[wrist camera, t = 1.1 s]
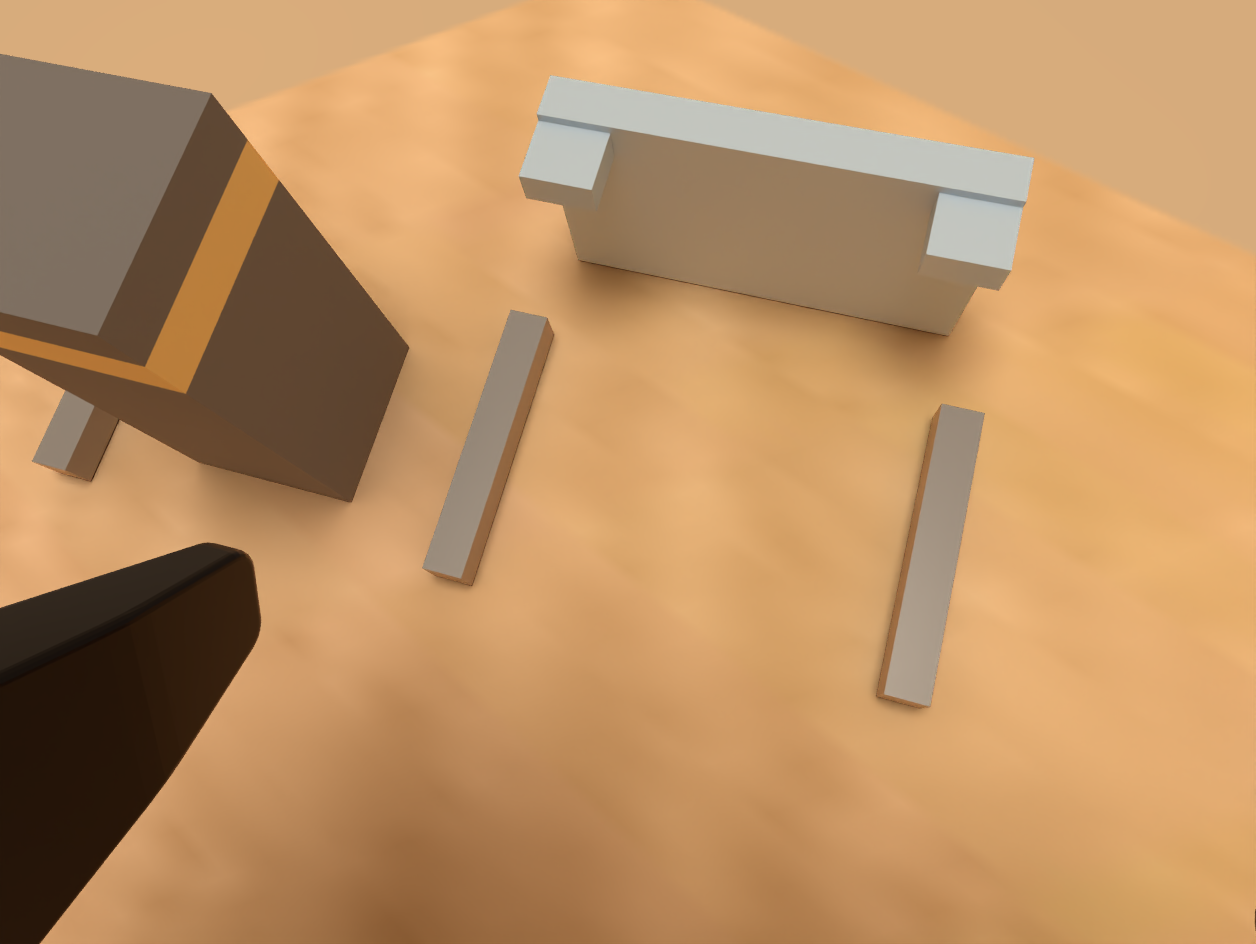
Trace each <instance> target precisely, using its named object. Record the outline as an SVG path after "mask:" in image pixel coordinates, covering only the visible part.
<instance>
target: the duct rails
mask: <svg viewBox="0 0 1256 944" xmlns="http://www.w3.org/2000/svg"><path fill="white" fill-rule="evenodd" d="M537 117H538V123H537V126H536V129H535V132H534V134H533V137H532V140H531V143H530V146H529V148H528V151H527V154H526V157H525V160H524V163H523V165H522V168H521V171H520V174H519V178H520V181H521V184H522V187H523V190H524V193H525V196H526V198H528V199H533V200H538V201H543V202H548V203H554V204H559V205H563V208H564V212H565V215H566V219H567V222H568V226H569V229H570V233H571V236H572V240H573V243H574V247H575V250H576V254H577V257H578V260H581V261H586V262H591V263H596V264H601V265H606V266H610V267H615V268H620V269H625V270H630V271H635V272H640V273H644V274H649V275H654V276H659V277H664V278H669V279H674V280H678V281H683V282H688V283H693V284H698V285H703V286H708V287H713V288H717V289H722V290H727V291H732V292H737V293H742V294H747V295H751V296H756V297H761V298H766V299H771V300H776V301H781V302H785V303H790V304H795V305H800V306H805V307H810V308H815V309H819V310H824V311H829V312H834V313H839V314H844V315H849V316H854V317H858V318H863V319H868V320H873V321H878V322H883V323H888V324H892V325H897V326H902V327H907V328H912V329H917V330H922V331H926V332H931V333H936V334H941V335H946V336H949V335H950V333H951V331H952V330H953V328H954V326H955V324H956V323H957V321H958V319H959V318H960V316H961V314H962V312H963V311H964V309H965V307H966V305H967V304H968V302H969V300H970V298H971V297H972V295H973V293H974V292H975V290H976V288H977V286H978V287H983V288H988V289H993V290H998V291H999V289H1000V288H1001V286H1002V284H1003V283H1004V281H1005V280H1006V278H1007V276H1008V275H1009V273H1010V272H1011V269H1012V264H1013V258H1014V253H1015V247H1016V242H1017V237H1018V231H1019V226H1020V220H1021V215H1022V210H1023V207H1024V205H1025V203H1026V201H1027V195H1028V190H1029V184H1030V179H1031V173H1032V168H1033V163H1034V158H1031V157H1025V156H1019V155H1013V154H1008V153H1002V152H996V151H990V150H984V149H978V148H973V147H967V146H961V145H955V144H949V143H943V142H938V141H932V140H926V139H920V138H914V137H908V136H902V135H897V134H891V133H885V132H879V131H873V130H867V129H862V128H856V127H850V126H844V125H838V124H832V123H826V122H821V121H815V120H809V119H803V118H797V117H791V116H786V115H780V114H774V113H768V112H762V111H756V110H750V109H745V108H739V107H733V106H727V105H721V104H715V103H710V102H704V101H698V100H692V99H686V98H680V97H674V96H669V95H663V94H657V93H651V92H645V91H639V90H634V89H628V88H622V87H616V86H610V85H604V84H598V83H593V82H587V81H581V80H575V79H569V78H563V77H558V76H552V75H550V78H549V81H548V84H547V87H546V89H545V92H544V95H543V98H542V101H541V103H540V106H539V109H538V112H537ZM553 336H554V334H553V331H552V329H551V326H550V324H549V321H548V318H546V317H542V316H537V315H532V314H528V313H523V312H519V311H514V310H511V311H510V314H509V316H508V319H507V322H506V325H505V328H504V331H503V334H502V337H501V340H500V343H499V346H498V349H497V351H496V354H495V357H494V360H493V363H492V366H491V369H490V372H489V375H488V378H487V381H486V384H485V386H484V389H483V392H482V395H481V398H480V401H479V404H478V407H477V410H476V413H475V416H474V419H473V421H472V424H471V427H470V430H469V433H468V436H467V439H466V442H465V445H464V448H463V451H462V454H461V457H460V459H459V462H458V465H457V468H456V471H455V474H454V477H453V480H452V483H451V486H450V489H449V492H448V494H447V497H446V500H445V503H444V506H443V509H442V512H441V515H440V518H439V521H438V524H437V527H436V529H435V532H434V535H433V538H432V541H431V544H430V547H429V550H428V553H427V556H426V559H425V562H424V564H423V567H422V568H423V569H425V570H426V571H428V572H430V573H431V574H433V575H435V576H439V577H442V578H446V579H450V580H453V581H457V582H461V583H464V584H468V585H471V586H472V584H473V581H474V578H475V575H476V572H477V568H478V565H479V562H480V559H481V556H482V553H483V550H484V547H485V544H486V541H487V538H488V535H489V532H490V529H491V526H492V523H493V519H494V516H495V513H496V510H497V507H498V504H499V501H500V498H501V495H502V492H503V489H504V486H505V483H506V480H507V477H508V474H509V470H510V467H511V464H512V461H513V458H514V455H515V452H516V449H517V446H518V443H519V440H520V437H521V434H522V431H523V428H524V425H525V421H526V418H527V415H528V412H529V409H530V406H531V403H532V400H533V397H534V394H535V391H536V388H537V385H538V382H539V379H540V376H541V372H542V369H543V366H544V363H545V360H546V357H547V354H548V351H549V348H550V345H551V342H552V339H553ZM984 414H985V413H982V412H977V411H973V410H968V409H963V408H959V407H954V406H950V405H945V404H941V406H940V407H939V409H938V410H937V412H936V413H935V415H934V416H933V418H932V422H931V427H930V432H929V437H928V442H927V447H926V452H925V457H924V462H923V466H922V471H921V476H920V481H919V486H918V491H917V496H916V501H915V506H914V511H913V516H912V521H911V526H910V531H909V536H908V541H907V546H906V551H905V556H904V561H903V566H902V571H901V576H900V581H899V586H898V591H897V595H896V600H895V605H894V610H893V615H892V620H891V625H890V630H889V635H888V640H887V645H886V650H885V655H884V660H883V665H882V670H881V675H880V680H879V685H878V690H877V695H876V696H877V697H880V698H884V699H888V700H891V701H895V702H899V703H902V704H906V705H910V706H913V707H917V708H926V707H930V705H931V700H932V694H933V689H934V684H935V678H936V673H937V667H938V662H939V657H940V651H941V646H942V640H943V635H944V630H945V624H946V619H947V614H948V608H949V603H950V597H951V592H952V587H953V581H954V576H955V570H956V565H957V560H958V554H959V549H960V543H961V538H962V533H963V527H964V522H965V517H966V511H967V506H968V500H969V495H970V490H971V484H972V479H973V473H974V468H975V463H976V457H977V452H978V447H979V441H980V436H981V430H982V425H983V420H984ZM118 420H119V419H118V418H116V417H114V416H112V415H110V414H108V413H107V412H105V411H103V410H101V409H99V408H97V407H96V406H94V405H92V404H90V403H88V402H86V401H84V400H83V399H81V398H79V397H77V396H75V395H73V394H71V393H70V392H68V391H66V390H65V393H64V395H63V397H62V399H61V401H60V403H59V405H58V407H57V410H56V412H55V414H54V416H53V418H52V420H51V422H50V424H49V426H48V429H47V431H46V433H45V435H44V437H43V439H42V441H41V443H40V446H39V448H38V450H37V452H36V454H35V456H34V458H33V460H32V462H34V463H37V464H39V465H42V466H44V467H47V468H49V469H52V470H54V471H56V472H59V473H63V474H66V475H70V476H73V477H77V478H81V479H84V480H88V481H91V479H92V477H93V475H94V473H95V471H96V468H97V466H98V464H99V462H100V460H101V457H102V455H103V453H104V451H105V448H106V446H107V444H108V442H109V440H110V437H111V435H112V433H113V431H114V429H115V426H116V424H117V422H118Z"/></svg>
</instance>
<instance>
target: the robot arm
mask: <svg viewBox="0 0 1256 944" xmlns="http://www.w3.org/2000/svg"><path fill="white" fill-rule="evenodd" d="M260 627H261V614H260V607H259V600H258V592H257V585H256V578H255V571H254V565H253V561H252V560H251V558H250V556H249V555H248V554H247V553H245V552H244V551H242V550H238V549H235V548H231V547H227V546H223V545H219V544H215V543H201V544H198V545H195V546H192V547H188V548H185V549H182V550H179V551H176V552H173V553H170V554H167V555H164V556H160V557H157V558H154V559H151V560H148V561H145V562H142V563H139V564H135V565H132V566H129V567H126V568H123V569H120V570H117V571H114V572H111V573H107V574H104V575H101V576H98V577H95V578H92V579H89V580H86V581H83V582H79V583H76V584H73V585H70V586H67V587H64V588H61V589H58V590H55V591H51V592H48V593H45V594H42V595H39V596H36V597H33V598H30V599H27V600H23V601H20V602H17V603H14V604H11V605H8V606H5V607H2V608H0V944H40V943H41V941H42V940H43V939H44V938H45V936H46V935H47V934H48V933H49V931H50V930H51V929H52V927H53V926H54V925H55V924H56V922H57V921H58V920H59V919H60V917H61V916H62V915H63V913H64V912H65V911H66V910H67V908H68V907H69V906H70V905H71V903H72V902H73V901H74V900H75V898H76V897H77V896H78V894H79V893H80V892H81V891H82V889H83V888H84V887H85V886H86V884H87V883H88V882H89V880H90V879H91V878H92V877H93V875H94V874H95V873H96V872H97V870H98V869H99V868H100V867H101V865H102V864H103V863H104V861H105V860H106V859H107V858H108V856H109V855H110V854H111V853H112V851H113V850H114V849H115V847H116V846H117V845H118V844H119V842H120V841H121V840H122V839H123V837H124V836H125V835H126V834H127V832H128V831H129V830H130V828H131V827H132V826H133V825H134V823H135V822H136V821H137V820H138V818H139V817H140V816H141V814H142V813H143V812H144V811H145V809H146V808H147V807H148V806H149V804H150V803H151V802H152V800H153V799H154V798H155V796H156V795H157V794H158V792H159V791H160V790H161V788H162V787H163V786H164V784H165V783H166V782H167V780H168V779H169V777H170V776H171V774H172V773H173V771H174V770H175V768H176V767H177V766H178V764H179V763H180V761H181V760H182V758H183V757H184V755H185V754H186V752H187V750H188V749H189V747H190V746H191V744H192V743H193V741H194V739H195V738H196V736H197V735H198V733H199V732H200V730H201V729H202V727H203V725H204V724H205V722H206V721H207V719H208V718H209V716H210V714H211V713H212V711H213V710H214V708H215V707H216V705H217V704H218V702H219V700H220V699H221V697H222V696H223V694H224V693H225V691H226V689H227V688H228V686H229V685H230V683H231V682H232V680H233V679H234V677H235V675H236V674H237V672H238V671H239V669H240V668H241V666H242V664H243V663H244V661H245V660H246V658H247V657H248V655H249V654H250V652H251V650H252V649H253V647H254V645H255V643H256V641H257V639H258V636H259V632H260ZM1255 929H1256V911H1255Z"/></svg>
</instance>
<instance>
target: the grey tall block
mask: <svg viewBox="0 0 1256 944" xmlns="http://www.w3.org/2000/svg"><path fill="white" fill-rule="evenodd" d="M408 349H409V347H408V345H407V344H406V343H405V341H404V340H403V339H402V338H401V336H400V335H399V334H398V332H397V331H396V330H395V329H394V327H393V326H392V325H391V323H390V322H389V321H388V320H387V318H386V317H385V316H384V314H383V313H382V312H381V311H380V309H379V308H378V307H377V305H376V304H375V303H374V302H373V300H372V299H371V298H370V296H369V295H368V294H367V293H366V291H365V290H364V289H363V287H362V286H361V285H360V284H359V282H358V281H357V280H356V278H355V277H354V276H353V275H352V273H351V272H350V271H349V269H348V268H347V267H346V266H345V264H344V263H343V262H342V260H341V259H340V258H339V257H338V255H337V254H336V253H335V251H334V250H333V249H332V248H331V246H330V245H329V244H328V242H327V241H326V240H325V239H324V237H323V236H322V235H321V233H320V232H319V231H318V230H317V228H316V227H315V226H314V224H313V223H312V222H311V221H310V219H309V218H308V217H307V215H306V214H305V213H304V212H303V210H302V209H301V208H300V206H299V205H298V204H297V203H296V201H295V200H294V199H293V197H292V196H291V195H290V194H289V192H288V191H287V190H286V188H285V187H284V186H283V185H282V183H281V182H280V181H279V179H278V178H277V177H276V176H275V174H274V173H273V172H272V170H271V169H270V168H269V167H268V165H267V164H266V163H265V161H264V160H263V159H262V158H261V156H260V155H259V154H258V152H257V151H256V150H255V149H254V147H253V146H252V145H251V143H250V142H249V141H248V140H247V138H246V137H245V136H244V134H243V133H242V132H241V131H240V129H239V128H238V127H237V125H236V124H235V123H234V122H233V120H232V119H231V118H230V116H229V115H228V114H227V113H226V111H225V110H224V109H223V107H222V106H221V105H220V104H219V102H218V101H217V100H216V98H215V97H214V96H213V95H212V93H207V92H202V91H197V90H191V89H186V88H180V87H174V86H170V85H164V84H159V83H154V82H148V81H143V80H137V79H132V78H127V77H121V76H116V75H111V74H105V73H100V72H94V71H88V70H83V69H78V68H73V67H67V66H62V65H57V64H51V63H46V62H40V61H35V60H30V59H25V58H19V57H13V56H8V55H2V54H0V355H1V356H3V357H5V358H7V359H9V360H10V361H12V362H14V363H16V364H18V365H20V366H22V367H23V368H25V369H27V370H29V371H31V372H33V373H34V374H36V375H38V376H40V377H42V378H44V379H46V380H47V381H49V382H51V383H53V384H55V385H57V386H59V387H60V388H62V389H64V390H66V391H68V392H70V393H71V394H73V395H75V396H77V397H79V398H81V399H83V400H84V401H86V402H88V403H90V404H92V405H94V406H96V407H97V408H99V409H101V410H103V411H105V412H107V413H108V414H110V415H112V416H114V417H116V418H118V419H120V420H121V421H123V422H125V423H127V424H129V425H131V426H133V427H134V428H136V429H138V430H140V431H142V432H144V433H145V434H147V435H149V436H151V437H153V438H155V439H157V440H158V441H160V442H162V443H164V444H166V445H168V446H170V447H171V448H173V449H175V450H177V451H179V452H181V453H182V454H184V455H186V456H188V457H190V458H192V459H194V460H195V461H197V462H200V463H204V464H207V465H211V466H215V467H219V468H223V469H226V470H230V471H234V472H238V473H241V474H245V475H249V476H253V477H257V478H260V479H264V480H268V481H272V482H276V483H279V484H283V485H287V486H291V487H295V488H298V489H302V490H306V491H310V492H314V493H317V494H321V495H325V496H329V497H333V498H336V499H340V500H344V501H348V502H352V499H353V497H354V494H355V491H356V489H357V486H358V483H359V481H360V478H361V475H362V472H363V470H364V467H365V464H366V462H367V459H368V456H369V454H370V451H371V448H372V446H373V443H374V440H375V437H376V435H377V432H378V429H379V427H380V424H381V421H382V419H383V416H384V413H385V410H386V408H387V405H388V402H389V400H390V397H391V394H392V392H393V389H394V386H395V384H396V381H397V378H398V375H399V373H400V370H401V367H402V365H403V362H404V359H405V357H406V354H407V351H408Z"/></svg>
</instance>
